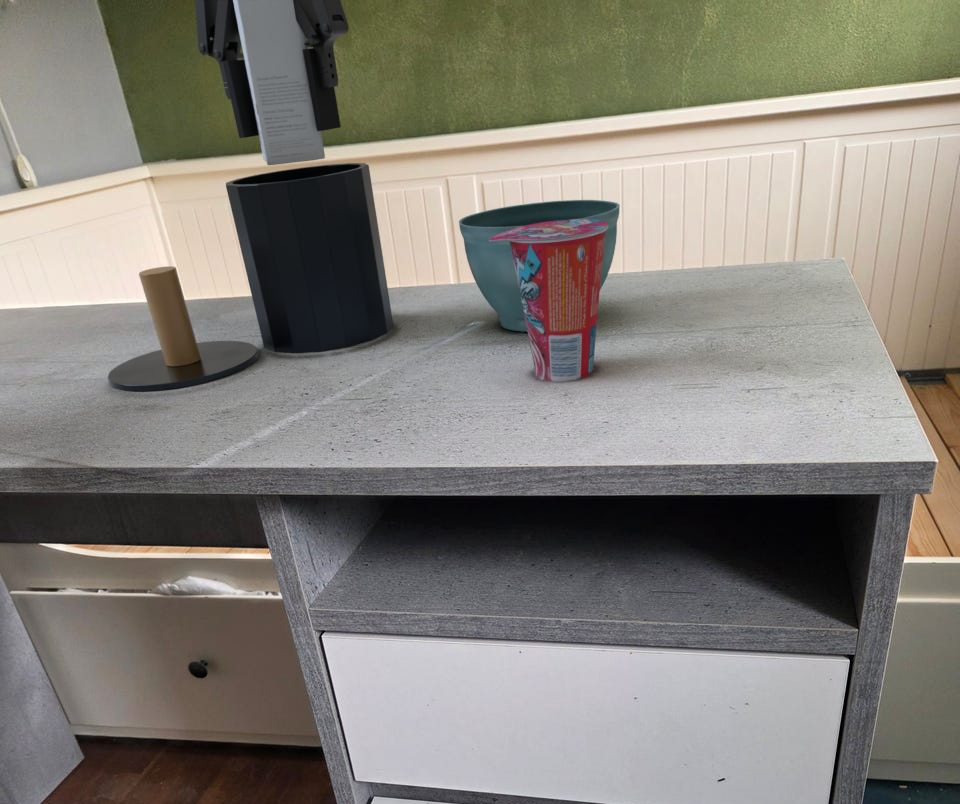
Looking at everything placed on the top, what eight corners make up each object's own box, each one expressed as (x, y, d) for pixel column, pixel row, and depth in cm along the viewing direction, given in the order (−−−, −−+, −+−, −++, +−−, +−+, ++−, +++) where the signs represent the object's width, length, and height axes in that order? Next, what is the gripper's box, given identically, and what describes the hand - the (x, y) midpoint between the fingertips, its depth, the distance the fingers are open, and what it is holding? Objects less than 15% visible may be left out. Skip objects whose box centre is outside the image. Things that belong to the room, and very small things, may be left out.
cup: (568, 353, 83) (561, 215, 77) (631, 369, 77) (630, 220, 71) (490, 379, 79) (476, 235, 73) (550, 397, 73) (541, 243, 67)
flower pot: (497, 305, 103) (488, 203, 97) (634, 301, 98) (633, 193, 92) (448, 344, 91) (434, 231, 85) (602, 342, 85) (599, 221, 79)
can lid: (80, 390, 91) (43, 287, 85) (190, 348, 101) (164, 253, 96) (182, 403, 83) (148, 290, 78) (289, 355, 94) (267, 253, 88)
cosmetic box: (263, 162, 91) (225, -15, 83) (320, 154, 92) (288, -22, 84) (268, 167, 84) (227, -26, 76) (330, 158, 85) (296, -33, 77)
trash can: (237, 354, 97) (195, 187, 88) (321, 319, 106) (291, 166, 97) (338, 362, 90) (303, 182, 81) (418, 324, 99) (395, 159, 90)
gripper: (359, -194, 72) (401, 120, 84) (175, -136, 83) (235, 135, 95) (299, -208, 67) (353, 129, 79) (110, -143, 78) (183, 144, 90)
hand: (289, 132), depth 87 cm, fingers closed on cosmetic box, 10 cm apart
